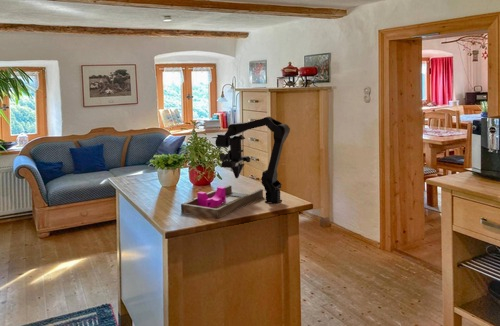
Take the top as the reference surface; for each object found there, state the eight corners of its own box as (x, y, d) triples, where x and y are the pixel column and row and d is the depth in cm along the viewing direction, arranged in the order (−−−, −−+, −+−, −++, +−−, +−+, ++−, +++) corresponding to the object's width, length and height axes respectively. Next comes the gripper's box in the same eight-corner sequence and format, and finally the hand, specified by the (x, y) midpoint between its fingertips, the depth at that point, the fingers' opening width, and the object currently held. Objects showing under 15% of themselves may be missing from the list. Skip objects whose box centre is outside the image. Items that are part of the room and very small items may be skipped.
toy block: (206, 209, 216) (205, 194, 214) (197, 207, 220) (197, 192, 219) (229, 202, 226) (228, 188, 225) (220, 200, 230) (220, 186, 229)
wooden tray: (262, 196, 235) (262, 188, 234) (217, 218, 201) (217, 209, 200) (229, 192, 246) (229, 184, 245) (181, 212, 212) (180, 203, 211)
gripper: (232, 144, 241) (233, 173, 244) (212, 149, 225) (213, 180, 228) (250, 145, 235) (251, 175, 238) (230, 151, 219) (231, 182, 222)
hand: (236, 178), depth 232 cm, fingers closed
